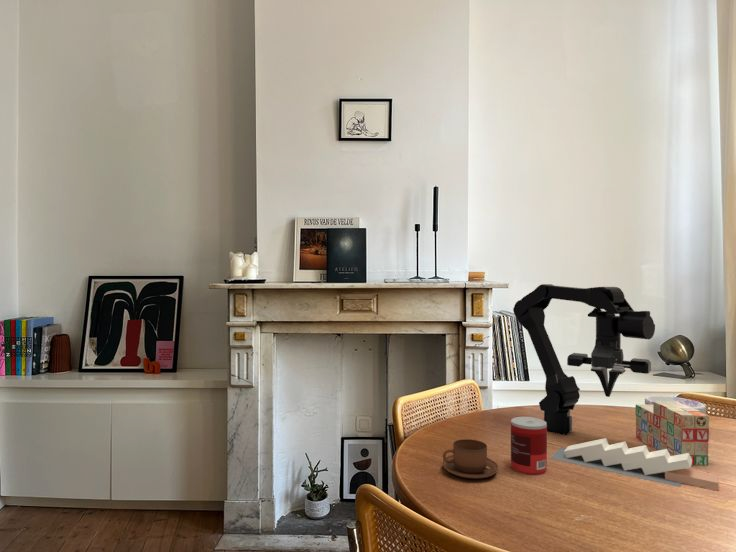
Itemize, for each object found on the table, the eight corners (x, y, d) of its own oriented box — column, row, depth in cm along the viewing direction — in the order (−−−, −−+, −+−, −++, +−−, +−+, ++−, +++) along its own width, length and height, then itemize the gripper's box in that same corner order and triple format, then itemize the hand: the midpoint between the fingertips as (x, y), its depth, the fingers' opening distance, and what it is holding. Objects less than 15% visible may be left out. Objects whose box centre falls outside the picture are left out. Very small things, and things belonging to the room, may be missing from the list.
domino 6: (665, 471, 102) (717, 482, 97) (667, 464, 106) (717, 475, 101) (665, 479, 102) (717, 490, 97) (667, 471, 106) (717, 482, 101)
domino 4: (621, 463, 107) (664, 455, 102) (625, 456, 111) (667, 448, 106) (624, 470, 107) (668, 462, 102) (628, 463, 111) (670, 456, 106)
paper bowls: (709, 427, 142) (709, 400, 142) (701, 439, 131) (701, 410, 131) (650, 417, 152) (650, 392, 152) (638, 428, 141) (638, 400, 141)
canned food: (546, 466, 111) (546, 418, 111) (547, 479, 103) (547, 428, 103) (511, 462, 113) (511, 414, 113) (509, 474, 106) (510, 424, 106)
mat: (549, 460, 114) (549, 458, 114) (561, 449, 122) (561, 446, 122) (680, 489, 99) (680, 487, 99) (684, 474, 107) (684, 471, 107)
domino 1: (563, 451, 115) (601, 443, 110) (569, 445, 119) (606, 438, 114) (566, 458, 114) (604, 450, 109) (571, 452, 118) (609, 444, 113)
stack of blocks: (635, 438, 132) (635, 392, 132) (658, 438, 132) (658, 393, 132) (681, 467, 111) (681, 413, 111) (709, 468, 111) (709, 414, 111)
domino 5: (641, 467, 105) (686, 459, 100) (644, 460, 109) (688, 452, 104) (644, 475, 105) (690, 467, 100) (648, 468, 109) (692, 460, 104)
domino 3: (601, 459, 110) (642, 451, 105) (605, 453, 114) (645, 445, 109) (604, 466, 109) (646, 458, 105) (608, 459, 113) (649, 452, 109)
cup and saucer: (465, 487, 99) (465, 457, 99) (431, 467, 110) (432, 440, 110) (509, 477, 105) (509, 448, 105) (473, 459, 115) (473, 433, 115)
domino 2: (581, 455, 112) (621, 447, 107) (586, 449, 116) (625, 441, 111) (584, 462, 112) (624, 454, 107) (589, 456, 116) (628, 448, 111)
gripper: (561, 335, 124) (561, 396, 123) (645, 341, 112) (645, 408, 112) (572, 332, 132) (572, 389, 132) (651, 337, 121) (651, 399, 121)
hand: (607, 396), depth 124 cm, fingers closed
